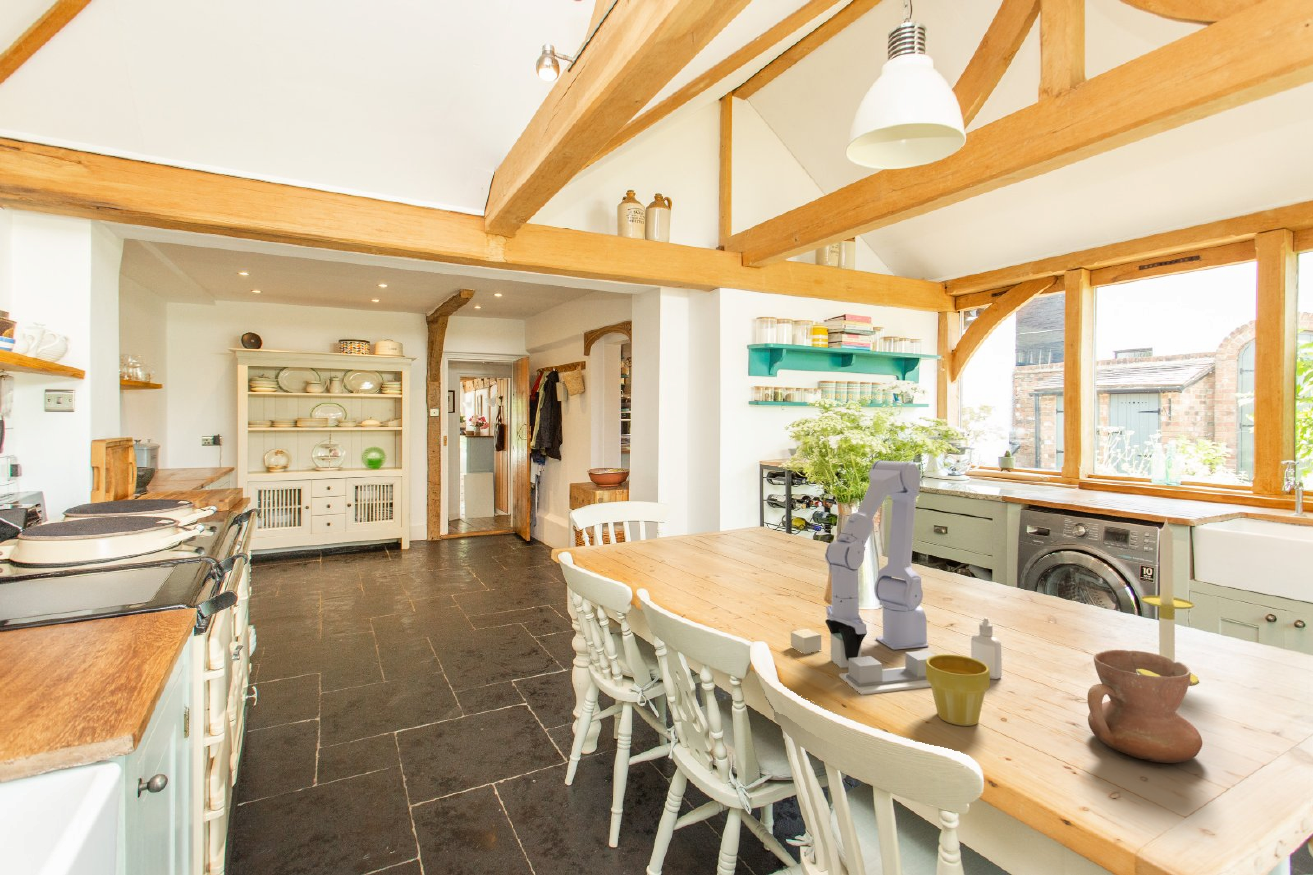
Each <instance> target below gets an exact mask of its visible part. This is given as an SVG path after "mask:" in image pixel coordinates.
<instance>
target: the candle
mask: <svg viewBox="0 0 1313 875" xmlns="http://www.w3.org/2000/svg"><path fill="white" fill-rule="evenodd" d="M1167 519H1168V518H1165V520H1164V524H1163V526H1162V528H1160V529H1159V595H1152V594H1151V595H1150V594H1149V595H1143V596H1141V597H1140V600H1141V602H1143V603H1144V604H1147V605H1151V606H1153V607H1158V644H1159V645H1158V652H1159V653H1158V655H1162V656H1166V657H1169V658H1171V659H1172V660H1173V661H1174V662H1176V654H1175V652H1176V646H1175V644H1176V642H1175V641H1176V640H1175V638H1176V637H1175V636H1176V634H1175V633H1176V632H1175V630H1176V627H1175V625H1176V624H1175V623H1176V622H1175V621H1176V620H1175V614H1176V613H1175V610H1189V609H1192V608H1194V607H1195V605H1194V603H1193V602H1192V601H1189V600H1185V599H1182V598H1179V597H1174V530H1173V529H1171V527H1170V525H1169V522H1168V520H1167ZM1136 671H1137V673H1138V674H1139V675H1140V674H1141V675H1149V676H1157V677H1161V676H1160V675H1158V674H1155V673H1153V672H1151V671H1148V670H1144V669H1136ZM1190 679H1191V681H1192V684H1191V685H1190V686H1193V685H1197V684H1199V683H1200V679H1199V678H1198V676H1197V675H1195V674H1194V673H1191V676H1190Z"/></svg>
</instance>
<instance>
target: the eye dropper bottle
mask: <svg viewBox="0 0 1313 875" xmlns="http://www.w3.org/2000/svg"><path fill="white" fill-rule="evenodd" d="M982 620H983V621H982V622H981V623H978V624H979V629H978V630H979V631H978V632H979V633H976V634H974V635H972V636H971V639H970V640H971V641H970V642H971V643H970V645H971V646H970V648H971V649H970V650H971V653H970V654H971V655H970V656H971V657H970V658H973V659H976V660H979V661H981V662H983V663H984V664H986V665H987V666H988V667H989V671H990V680H998V679H1001V678H1002V676H1003V675H1002V674H1003V673H1002V672H1003V671H1002V667H1003V666H1002V665H1003V664H1002V662H1003V661H1002V659H1003V658H1002V642H1001V640H999V639H998V638H997V637H995V636H993V624H991V623H990V622H989V619H988V617H983V619H982Z"/></svg>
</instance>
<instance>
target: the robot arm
mask: <svg viewBox="0 0 1313 875" xmlns="http://www.w3.org/2000/svg"><path fill="white" fill-rule="evenodd" d="M921 476H922V474H921V470H920V469H919V467H918V465H917V464H916V463H915V462H914V461H911V460H910V461H909V460H908V461H897V460H896V461H894V460H893V461H892V460H882V459H877V460H875V461H874V462H873V463H872V465H871V467H870V470H869V471H868V481H869V484H868V487H867V488H866V491H865V494H864V496H863V499H862V501H861V504H860V505H859V509H858V511H857V512H853V513H850V514H849V517H848V518H847V520H846V522H845V523H844V526H843V528H842V529H841V532H840V533H839V534H838V537H837V539H836V540H833V541H832V542H830V543H829V544H828V546H826V551H825V554H824V558H825V562H826V563H827V565H828V571H829V573H830V574H831V575H830V576H831V578H830V579H831V582H830V584H831V585H830V586H831V605H826V615H827V616H826V617H827V619H825V624H826V626H827V628H828V631H829V632H830V635H831V634H833V633H841V635H842V638H843V642H844V647H845V655H846V659H847V660H848V661H849V658H855V657H858V653H859V649H860V645H861V646H862V643H863V640H864V639H865V637H866V635H867V633H868V631H867V624H866V623H864V622H863V619H862V617H861V616H860V613H859V612H860V610H859V609H860V608H859V607H860V606H859V568H861V566H862V565H863V564H864V561H865V551H866V543H867V542H868V540H869V537H870V535H871V533H872V531H873V530H874V528H875V523H874V521H873V518H874V517H875V515H876V514H877V512H878V510H879V509H880V508H881V506H882V504H883V502H884V501H885V500H886V498H887V497H888V496H889V497H890V499H891V500H892V505H891V506H892V507H891V520H890V528H889V529H890V531H889V532H890V533H889V542H888V556H887V557H888V558H887V564H886V565H885V566H884V567H882V568H881V569H879V570H878V571H877V573H878V574H877V578H876V581H875V583H874V586H873V590H874V595H875V598H876V599H877V601H879V605H880V606H882V635H881V636H875V639H876V640H877V641H878V642H880V643H882V644H883V645H885V646H886V647H888V648H890V649H891V650H893V651H894V650H904V649H914V648H924V647H929V645H930V644H929V643H928V641H927V640H928V634H927V631H928V630H927V615H926V613H925V610H924V609H923V608H922V607H921V606H920V605H921V604H922V601H923V597H924V594H923V588H922V577H921V576H920V575H919V573H917V572H916V570H914V569H913V568H912V559H913V557H912V556H913V546H914V545H913V543H914V531H915V530H914V529H915V518H916V505H917V497H919V495H920V485H921Z"/></svg>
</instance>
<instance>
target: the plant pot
mask: <svg viewBox="0 0 1313 875" xmlns="http://www.w3.org/2000/svg"><path fill="white" fill-rule="evenodd" d="M926 678H927V681H928V682H929V683H930V684H931V687H930V688H931V691H932V696H933V699H934V705H935V709H936V713H937V715H938V717H939V718H940V719H941V720H942V721H944V722H947V723H948V724H952V725H955V726H959V727H960V726H961V727H969V726H975V725H977V724H978V723H979V721H980V716H981V711H982V707H983V702H984V699H985V698H984V697H985V693H986V691H987V690H989V689H990V680H991V679H990V671H989V667H988V666H987V665H986V664H984V663H983V662H981V661H979V660H976V659H973V658H971V657H969V656H965V655H958V654H949V653H948V654H944V653H943V654H936V655H935V654H934V656H931V657H929V658H927V660H926Z"/></svg>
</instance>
